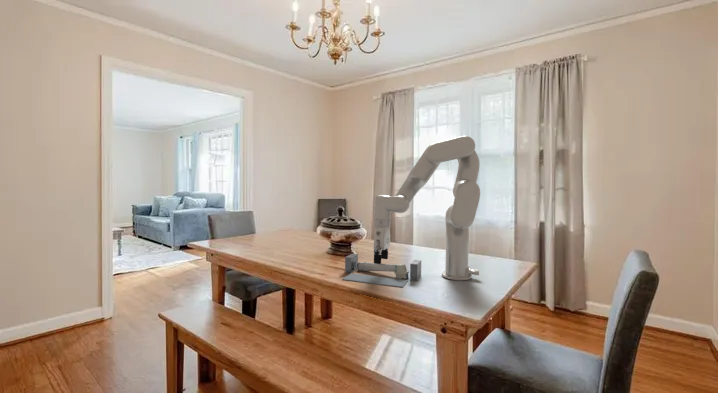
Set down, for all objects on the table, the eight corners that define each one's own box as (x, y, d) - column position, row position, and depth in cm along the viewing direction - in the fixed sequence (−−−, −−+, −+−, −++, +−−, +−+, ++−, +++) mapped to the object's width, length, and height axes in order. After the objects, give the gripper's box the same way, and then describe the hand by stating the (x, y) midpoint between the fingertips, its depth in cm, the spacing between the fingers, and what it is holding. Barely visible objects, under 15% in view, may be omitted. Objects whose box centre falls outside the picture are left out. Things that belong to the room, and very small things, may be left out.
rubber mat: (408, 281, 141) (408, 280, 141) (402, 287, 133) (402, 286, 133) (350, 274, 151) (350, 273, 151) (342, 279, 143) (342, 278, 143)
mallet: (361, 260, 161) (409, 260, 147) (363, 274, 161) (411, 276, 147) (355, 263, 156) (404, 263, 142) (357, 277, 156) (406, 279, 142)
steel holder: (421, 275, 149) (421, 260, 149) (417, 281, 142) (417, 264, 141) (352, 268, 161) (352, 253, 161) (345, 272, 154) (345, 257, 154)
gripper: (384, 226, 141) (382, 266, 142) (395, 221, 157) (394, 258, 158) (367, 224, 144) (366, 264, 145) (380, 220, 160) (379, 256, 161)
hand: (380, 261), depth 151 cm, fingers open, 9 cm apart
